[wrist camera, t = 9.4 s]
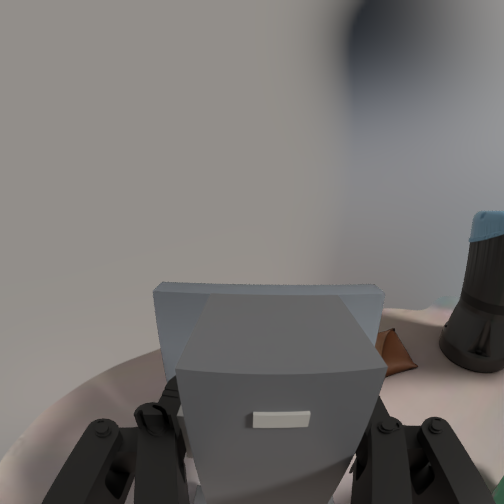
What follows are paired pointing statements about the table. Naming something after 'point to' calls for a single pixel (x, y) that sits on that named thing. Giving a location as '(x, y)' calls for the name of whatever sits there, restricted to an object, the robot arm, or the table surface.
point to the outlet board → (196, 294)
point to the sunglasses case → (393, 352)
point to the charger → (276, 396)
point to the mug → (499, 492)
